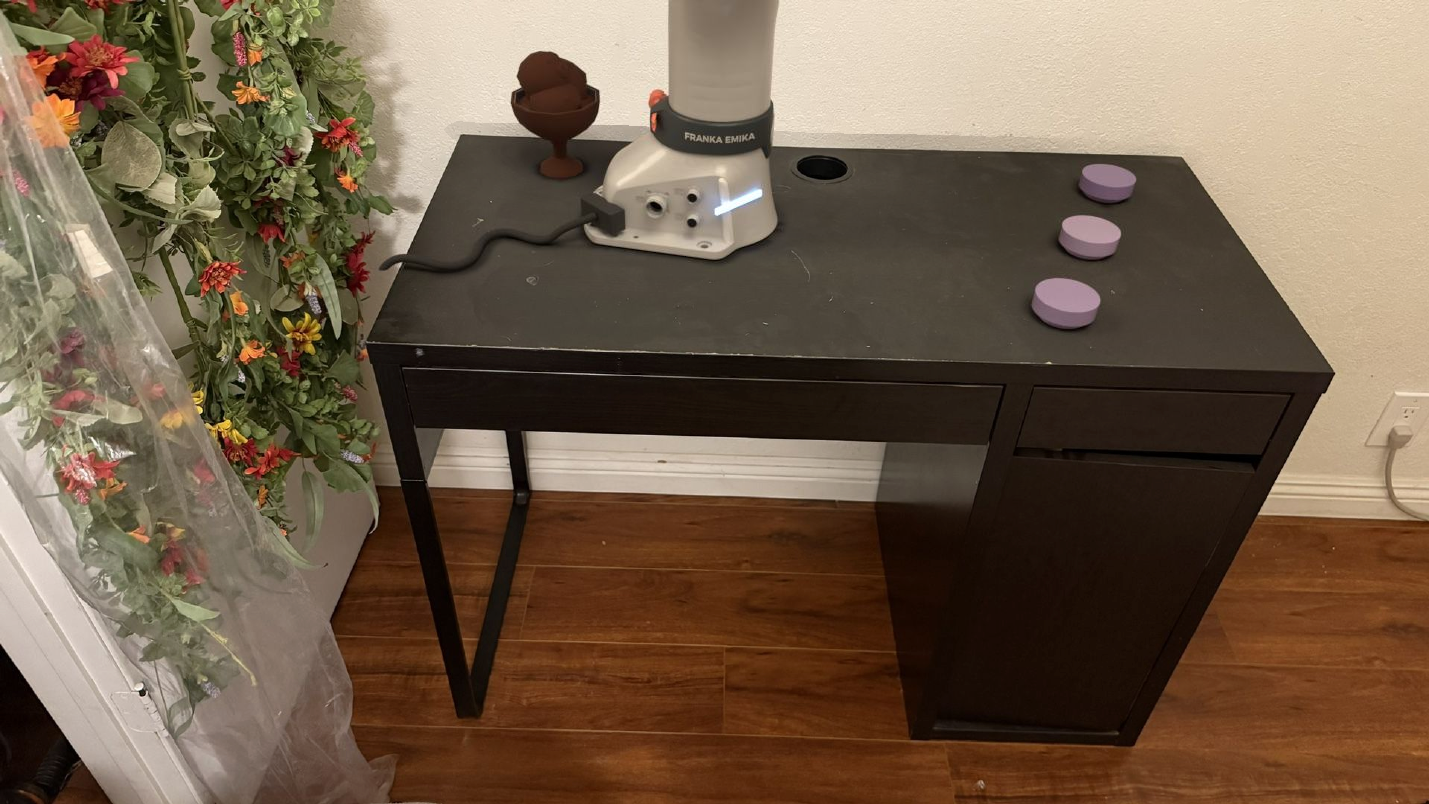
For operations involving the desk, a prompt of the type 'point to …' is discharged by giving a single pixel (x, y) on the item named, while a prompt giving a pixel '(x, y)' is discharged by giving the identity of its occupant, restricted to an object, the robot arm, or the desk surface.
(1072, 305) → the dish front
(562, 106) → the ice cream bowl
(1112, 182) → the dish bottom
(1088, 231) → the dish top
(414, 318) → the desk surface
